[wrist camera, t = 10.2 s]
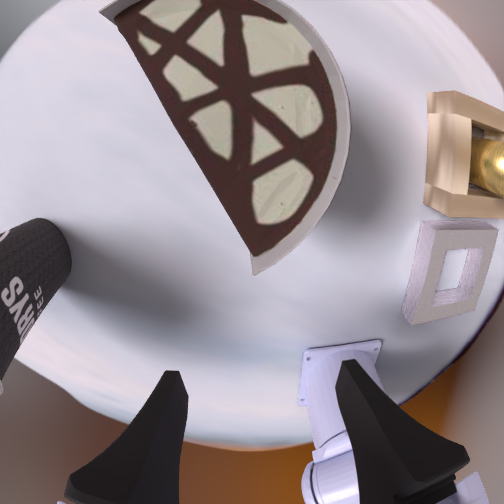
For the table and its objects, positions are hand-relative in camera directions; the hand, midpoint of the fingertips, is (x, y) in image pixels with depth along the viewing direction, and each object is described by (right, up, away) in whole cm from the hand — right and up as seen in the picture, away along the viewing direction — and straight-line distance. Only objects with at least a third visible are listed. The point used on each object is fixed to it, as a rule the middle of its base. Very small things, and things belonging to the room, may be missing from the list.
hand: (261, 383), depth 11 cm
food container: (-1, +15, +5) cm, 16 cm away
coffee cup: (-19, +6, +9) cm, 22 cm away
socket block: (+18, +4, +10) cm, 21 cm away
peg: (+18, +14, +6) cm, 23 cm away
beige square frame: (+18, +14, +6) cm, 23 cm away
